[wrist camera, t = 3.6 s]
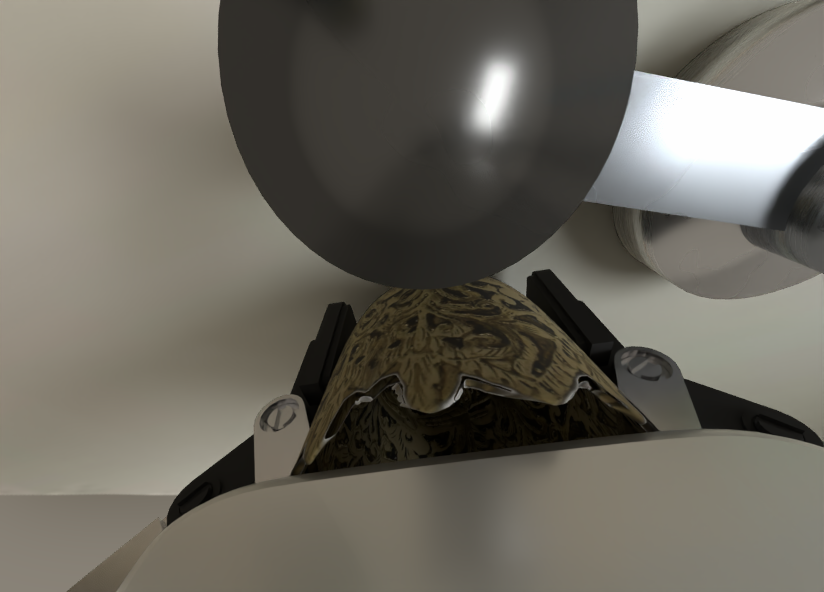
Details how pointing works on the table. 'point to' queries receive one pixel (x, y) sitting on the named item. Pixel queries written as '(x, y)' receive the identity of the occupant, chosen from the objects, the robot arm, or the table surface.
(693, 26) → the table surface
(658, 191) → the crank
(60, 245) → the table surface
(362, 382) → the ornate brass lampshade
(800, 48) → the crank base
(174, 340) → the table surface
